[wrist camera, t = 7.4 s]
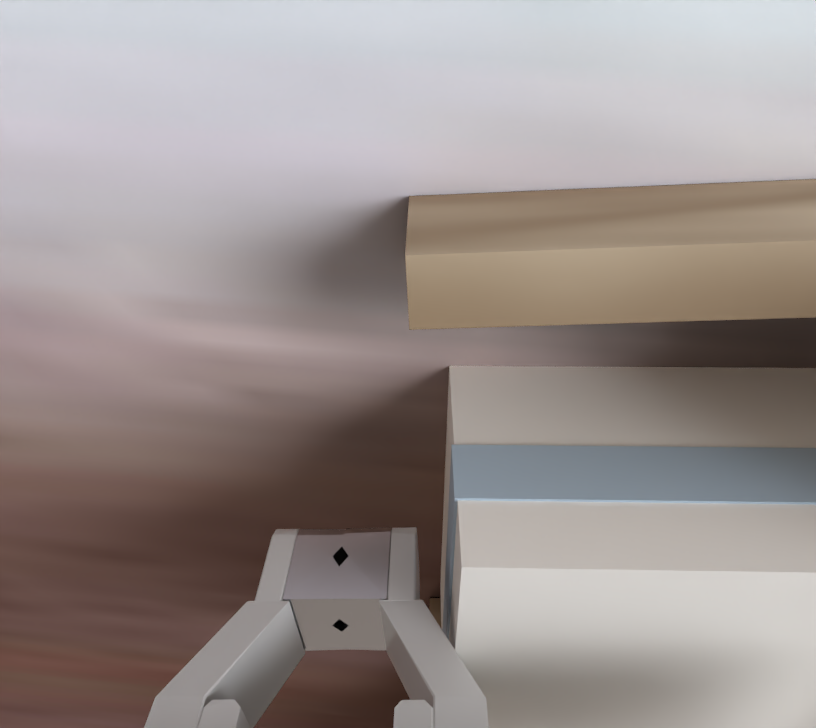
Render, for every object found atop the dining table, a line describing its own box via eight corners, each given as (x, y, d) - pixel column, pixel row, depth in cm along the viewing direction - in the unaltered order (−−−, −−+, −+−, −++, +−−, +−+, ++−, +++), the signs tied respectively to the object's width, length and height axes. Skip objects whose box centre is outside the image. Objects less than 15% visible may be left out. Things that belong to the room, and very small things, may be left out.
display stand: (409, 196, 10) (393, 436, 5) (1053, 169, 9) (1789, 408, 4) (430, 619, 17) (432, 875, 12) (777, 618, 17) (921, 885, 12)
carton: (446, 358, 12) (458, 564, 8) (834, 360, 12) (1054, 574, 8) (438, 580, 17) (442, 780, 13) (713, 584, 16) (808, 789, 12)
